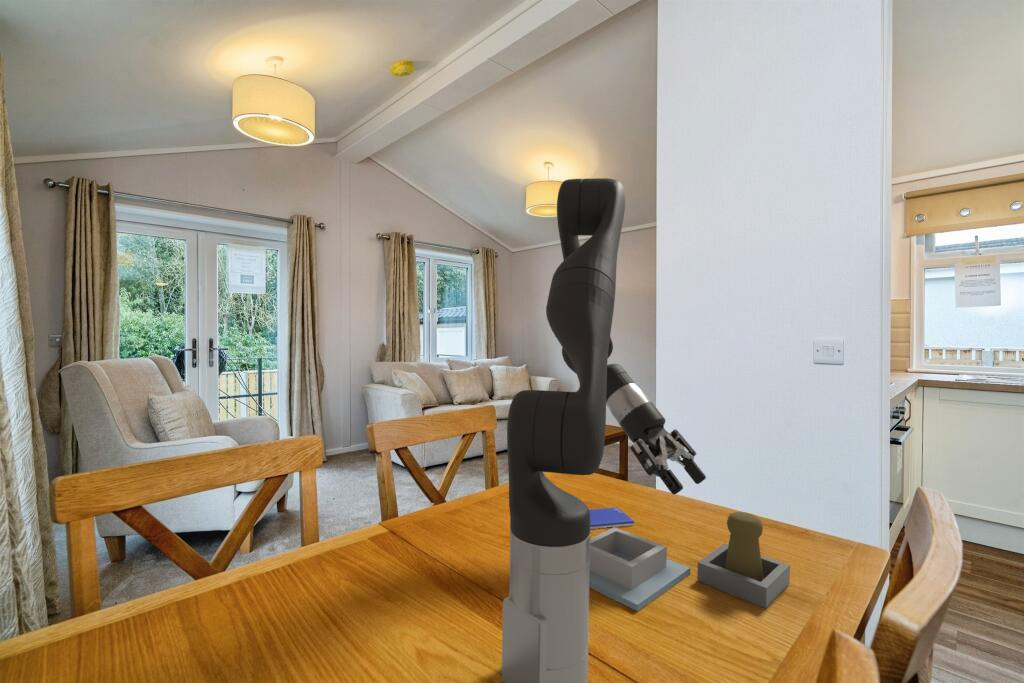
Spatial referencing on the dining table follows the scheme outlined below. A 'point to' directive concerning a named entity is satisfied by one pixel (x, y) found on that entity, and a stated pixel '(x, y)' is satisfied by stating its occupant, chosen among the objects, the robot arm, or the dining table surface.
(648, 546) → the dock
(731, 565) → the cork
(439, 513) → the dining table surface
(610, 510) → the blue book
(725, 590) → the holster
